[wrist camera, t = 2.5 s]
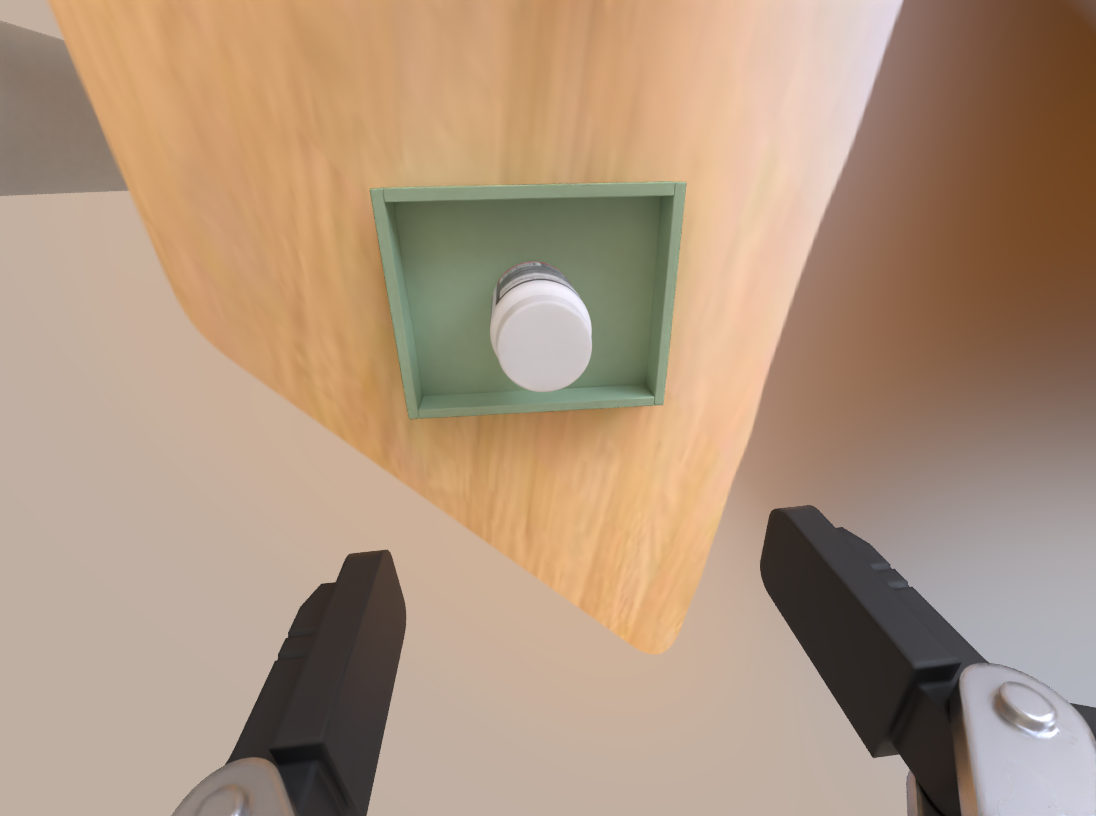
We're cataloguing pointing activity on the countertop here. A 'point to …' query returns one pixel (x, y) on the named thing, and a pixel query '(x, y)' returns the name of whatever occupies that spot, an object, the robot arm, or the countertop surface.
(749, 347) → the countertop surface
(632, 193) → the tray
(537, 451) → the countertop surface
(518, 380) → the pill bottle
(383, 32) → the countertop surface
